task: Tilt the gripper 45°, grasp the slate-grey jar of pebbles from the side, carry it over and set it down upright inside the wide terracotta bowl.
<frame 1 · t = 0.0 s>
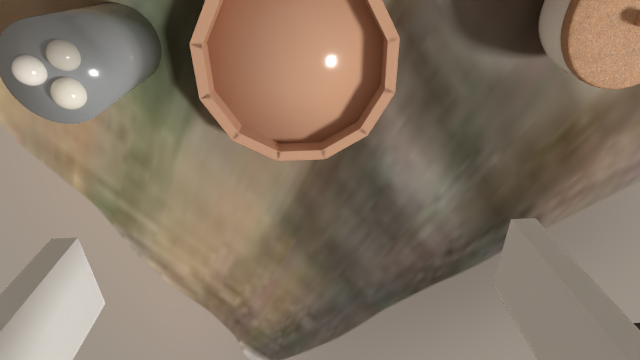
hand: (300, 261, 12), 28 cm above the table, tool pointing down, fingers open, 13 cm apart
terracotta bowl: (297, 61, 36), on the table
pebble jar: (121, 44, 35), on the table
lidded jar: (574, 8, 35), on the table
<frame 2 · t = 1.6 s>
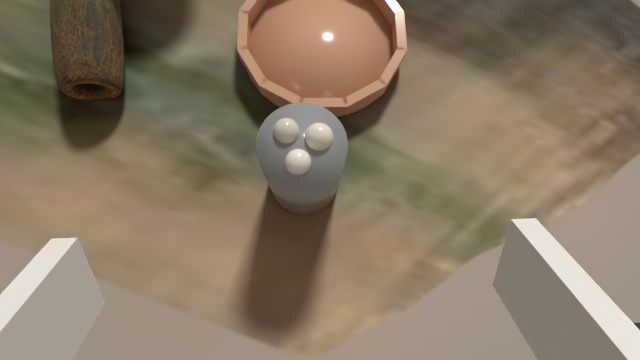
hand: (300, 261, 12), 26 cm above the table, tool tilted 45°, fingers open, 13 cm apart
stone weight: (104, 48, 43), on the table
terracotta bowl: (321, 46, 43), on the table
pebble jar: (304, 181, 39), on the table
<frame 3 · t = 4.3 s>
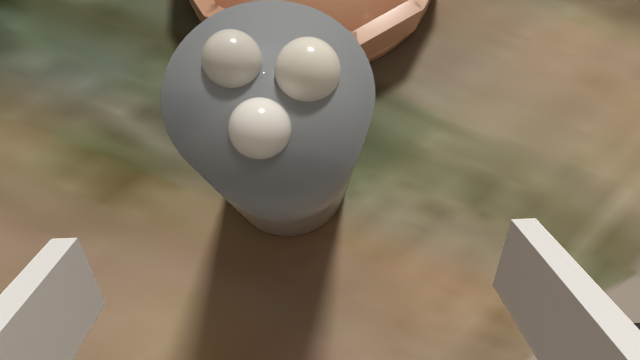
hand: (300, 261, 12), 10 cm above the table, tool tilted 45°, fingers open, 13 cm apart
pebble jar: (288, 178, 23), on the table
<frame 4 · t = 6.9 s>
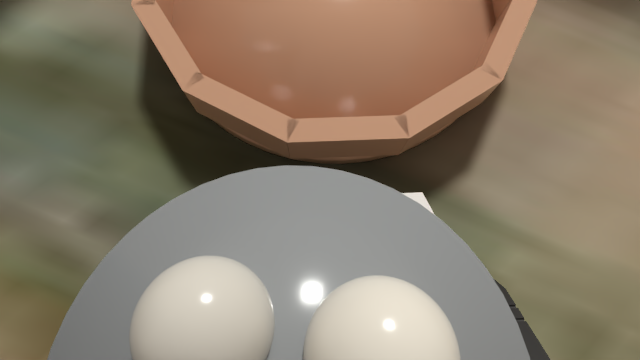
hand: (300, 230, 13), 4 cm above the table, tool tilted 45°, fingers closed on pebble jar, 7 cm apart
terracotta bowl: (332, 3, 20), on the table
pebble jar: (305, 325, 16), on the table, touching gripper
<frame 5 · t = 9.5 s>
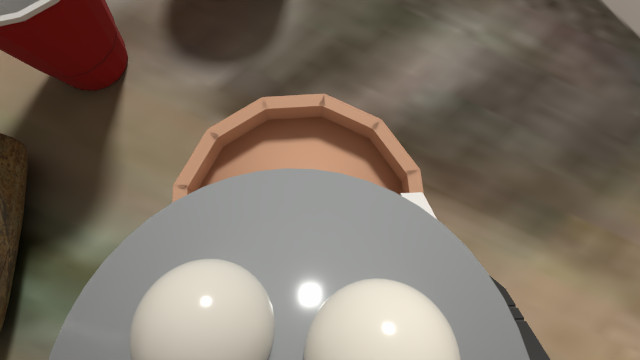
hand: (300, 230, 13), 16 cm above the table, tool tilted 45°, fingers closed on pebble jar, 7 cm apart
plastic cup: (99, 61, 33), on the table
terracotta bowl: (301, 216, 30), on the table
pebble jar: (305, 326, 16), point 13 cm above the table, touching gripper
when the fingers open (5 cm above the table, at t = 12.6 s): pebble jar stays where it is, resting on terracotta bowl.
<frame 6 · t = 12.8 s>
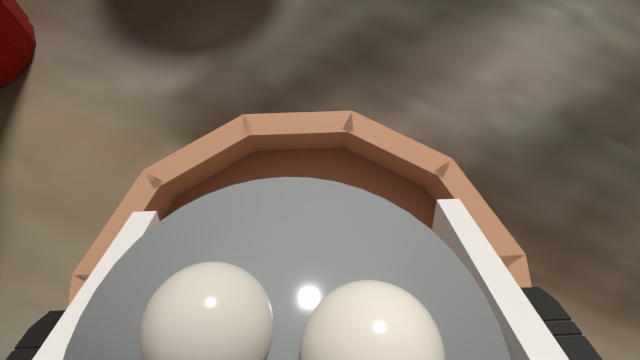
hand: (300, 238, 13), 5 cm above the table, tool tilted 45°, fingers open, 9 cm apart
terracotta bowl: (306, 321, 17), on the table
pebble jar: (304, 325, 16), point 1 cm above the table, touching terracotta bowl
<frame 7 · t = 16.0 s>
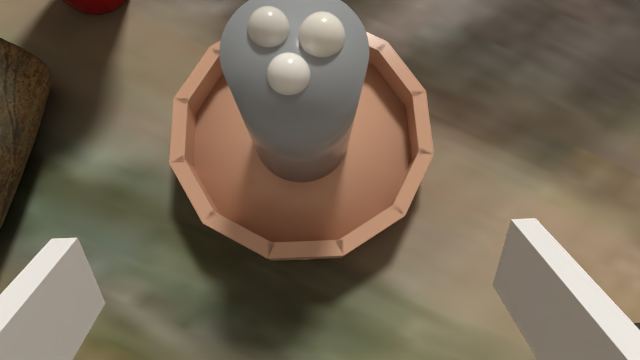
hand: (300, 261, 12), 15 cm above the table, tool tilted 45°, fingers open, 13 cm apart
stone weight: (7, 164, 29), on the table
terracotta bowl: (302, 141, 29), on the table
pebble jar: (301, 137, 28), point 1 cm above the table, touching terracotta bowl
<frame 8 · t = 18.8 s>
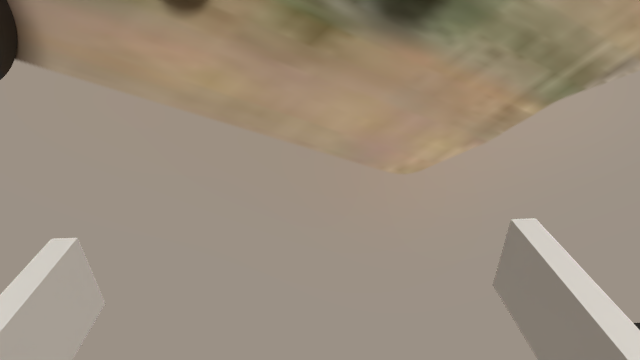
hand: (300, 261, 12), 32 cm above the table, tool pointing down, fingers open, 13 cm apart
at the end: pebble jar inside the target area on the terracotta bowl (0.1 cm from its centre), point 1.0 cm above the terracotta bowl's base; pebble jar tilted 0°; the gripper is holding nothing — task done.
